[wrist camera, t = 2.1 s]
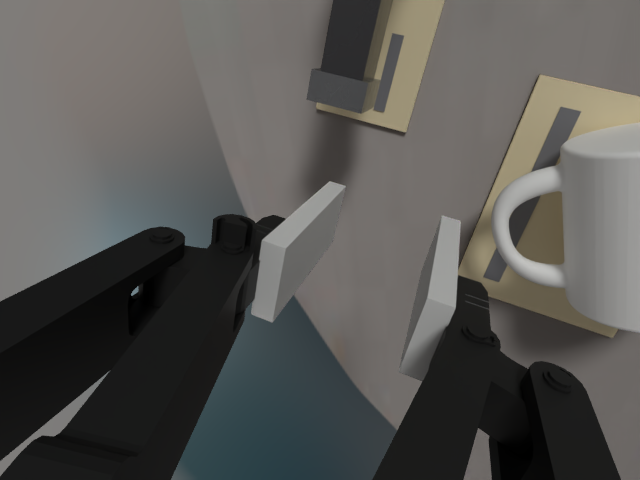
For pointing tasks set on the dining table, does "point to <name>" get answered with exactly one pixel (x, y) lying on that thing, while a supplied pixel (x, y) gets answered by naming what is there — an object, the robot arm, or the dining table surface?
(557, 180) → the mug
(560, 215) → the label card
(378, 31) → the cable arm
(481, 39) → the dining table surface
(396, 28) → the label card
